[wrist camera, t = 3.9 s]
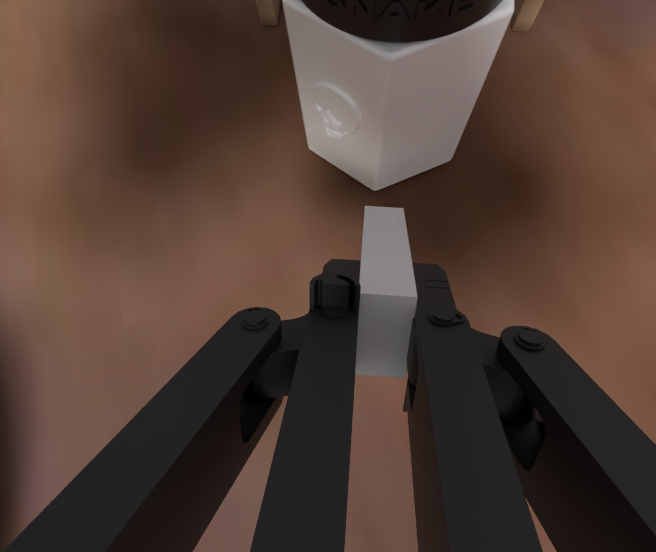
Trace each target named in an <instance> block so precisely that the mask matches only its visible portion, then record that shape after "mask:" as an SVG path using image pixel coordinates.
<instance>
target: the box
mask: <svg viewBox="0 0 656 552" xmlns="http://www.w3.org/2000/svg"><path fill="white" fill-rule="evenodd" d="M255 2H256V6H257V10H258V14H259V18H260V22H261V25H264V26H277V24H278V17H279V10H280V4H281V0H255ZM543 2H544V0H515V8H514V13H513V15H512V18H511V31H526V32H529V30H530V28H531V26H532V24H533V22H534V20H535V18H536V16H537V14H538V12H539V10H540V8H541V6H542V4H543Z"/></svg>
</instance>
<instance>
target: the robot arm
mask: <svg viewBox="0 0 656 552" xmlns="http://www.w3.org/2000/svg"><path fill="white" fill-rule="evenodd" d="M407 370H408V381H407V387H406V394H405V400H404V407H403V411H404V412H408V425H409V437H410V450H411V463H412V476H413V488H414V501H415V514H416V527H417V539H418V552H543V551H542V548H541V545H540V542H539V539H538V535H537V532H536V529H535V526H534V523H533V520H532V517H531V514H530V511H529V507H528V504H527V501H528V502H529V504H530V506H531V507H532V509H533V511H534V513H535V514H536V516H537V518H538V520H539V521H540V523H541V525H542V527H543V528H544V530H545V532H546V534H547V535H548V537H549V539H550V541H551V542H552V544H553V546H554V548H555V549H556V551H557V552H656V445H655V444H654V443H653V442H652V441H651V440H650V439H649V438H648V436H647V435H646V434H645V433H644V432H643V431H642V430H641V429H640V428H639V427H638V426H637V425H636V424H635V423H634V422H633V421H632V420H631V419H630V418H629V417H628V416H627V415H626V414H625V413H624V412H623V411H622V410H621V409H620V408H619V406H618V405H617V404H616V403H615V402H614V401H613V400H612V399H611V398H610V397H609V396H608V395H607V394H606V393H605V392H604V391H603V390H602V389H601V388H600V387H599V386H598V385H597V384H596V383H595V382H594V381H593V380H592V379H591V378H590V377H589V375H588V374H587V373H586V372H585V371H584V370H583V369H582V368H581V367H580V366H579V365H578V364H577V363H576V362H575V361H574V360H573V359H572V358H571V357H570V356H569V355H568V354H567V353H566V352H565V351H564V350H563V349H562V348H561V347H560V345H559V344H558V343H557V342H556V341H555V340H554V339H552V338H551V337H550V336H548V335H547V334H545V333H543V332H541V331H539V330H537V329H534V328H530V327H526V326H512V327H507V328H506V329H504V330H503V331H502V332H501V336H500V338H499V337H496V336H492V335H488V334H485V333H482V332H479V331H476V330H474V329H472V328H471V327H470V324H469V321H468V320H467V318H466V316H465V315H463V314H462V313H461V312H459V311H458V310H457V309H456V306H455V303H454V299H453V296H452V292H451V290H450V286H449V283H448V279H447V276H446V272H444V271H443V270H442V269H441V268H440V267H439V266H438V265H435V264H420V263H412V259H411V253H410V246H409V240H408V234H407V227H406V221H405V215H404V208H393V207H376V206H365V212H364V225H363V239H362V253H361V261H358V260H344V259H331V260H330V261H329V262H327V263H326V264H325V265H324V268H323V272H322V274H319V275H318V276H316V277H314V278H313V279H312V280H311V282H310V310H309V313H308V314H306V315H305V316H302V317H299V318H296V319H291V320H283V321H281V319H280V316H279V315H278V314H277V313H276V312H275V311H273V310H270V309H268V308H261V307H254V308H247V309H244V310H241V311H239V312H237V313H236V314H235V315H233V316H232V317H231V318H230V319H229V320H228V321H227V322H226V323H225V324H224V325H223V326H222V327H221V328H220V329H219V330H218V331H217V332H216V333H215V334H214V335H213V336H212V337H211V339H210V340H209V341H208V342H207V343H206V344H205V345H204V346H203V347H202V348H201V349H200V350H199V351H198V352H197V353H196V354H195V355H194V356H193V357H192V358H191V359H190V360H189V361H188V362H187V363H186V364H185V365H184V366H183V367H182V368H181V369H180V370H179V371H178V372H177V373H176V374H175V375H174V377H173V378H172V379H171V380H170V381H169V382H168V383H167V384H166V385H165V386H164V387H163V388H162V389H161V390H160V391H159V392H158V393H157V394H156V395H155V396H154V397H153V398H152V399H151V400H150V401H149V402H148V403H147V404H146V405H145V406H144V407H143V408H142V409H141V410H140V411H139V412H138V413H137V414H136V416H135V417H134V418H133V419H132V420H131V421H130V422H129V423H128V424H127V425H126V426H125V427H124V428H123V429H122V430H121V431H120V432H119V433H118V434H117V435H116V436H115V437H114V438H113V439H112V440H111V441H110V442H109V443H108V444H107V445H106V446H105V447H104V448H103V449H102V450H101V451H100V452H99V453H98V455H97V456H96V457H95V458H94V459H93V460H92V461H91V462H90V463H89V464H88V465H87V466H86V467H85V468H84V469H83V470H82V471H81V472H80V473H79V474H78V475H77V476H76V477H75V478H74V479H73V480H72V481H71V482H70V483H69V484H68V485H67V486H66V487H65V488H64V489H63V490H62V491H61V493H60V494H59V495H58V496H57V497H56V498H55V499H54V500H53V501H52V502H51V503H50V504H49V505H48V506H47V507H46V508H45V509H44V510H43V511H42V512H41V513H40V514H39V515H38V516H37V517H36V518H35V519H34V520H33V521H32V522H31V523H30V524H29V525H28V526H27V527H26V528H25V529H24V530H23V532H22V533H21V534H20V535H19V536H18V537H17V538H16V539H15V540H14V541H13V542H12V543H11V544H10V545H9V546H8V547H7V548H6V549H5V550H4V551H3V552H192V551H193V550H194V548H195V546H196V545H197V543H198V542H199V540H200V538H201V537H202V535H203V533H204V532H205V530H206V528H207V527H208V525H209V523H210V522H211V520H212V518H213V517H214V515H215V513H216V512H217V510H218V508H219V507H220V505H221V503H222V502H223V500H224V498H225V497H226V495H227V493H228V492H229V490H230V488H231V487H232V485H233V483H234V482H235V480H236V478H237V477H238V475H239V473H240V472H241V470H242V468H243V467H244V465H245V463H246V462H247V460H248V458H249V457H250V455H251V453H252V452H253V450H254V448H255V447H256V445H257V443H258V442H259V440H260V438H261V437H262V435H263V433H264V432H265V430H266V428H267V427H268V425H269V423H270V422H271V420H272V418H273V417H274V415H275V413H276V412H277V410H278V408H279V407H280V405H281V403H282V400H283V397H284V396H287V395H288V399H287V403H286V407H285V411H284V416H283V420H282V424H281V428H280V432H279V436H278V440H277V444H276V448H275V452H274V456H273V460H272V464H271V468H270V472H269V476H268V481H267V485H266V489H265V493H264V497H263V501H262V505H261V509H260V513H259V517H258V521H257V525H256V529H255V533H254V537H253V541H252V546H251V550H250V552H344V545H345V529H346V513H347V497H348V481H349V465H350V448H351V432H352V416H353V400H354V384H355V374H362V375H374V376H385V377H397V378H406V371H407ZM537 411H538V412H537ZM525 497H526V498H525ZM526 499H527V501H526Z"/></svg>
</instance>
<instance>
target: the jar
mask: <svg viewBox="0 0 656 552" xmlns="http://www.w3.org/2000/svg"><path fill="white" fill-rule="evenodd" d="M282 3H283V9H284V15H285V20H286V26H287V32H288V37H289V43H290V49H291V54H292V60H293V66H294V71H295V77H296V82H297V88H298V94H299V99H300V105H301V111H302V116H303V122H304V128H305V133H306V139H307V145H308V148H309V149H310V150H311V151H313V152H314V153H316V154H317V155H319V156H320V157H322V158H323V159H325V160H326V161H328V162H330V163H331V164H333V165H334V166H336V167H337V168H339V169H340V170H342V171H343V172H345V173H347V174H348V175H350V176H351V177H353V178H354V179H356V180H357V181H359V182H360V183H362V184H363V185H365V186H367V187H368V188H370V189H371V190H373V191H378V190H380V189H383V188H385V187H388V186H390V185H392V184H395V183H397V182H400V181H402V180H405V179H407V178H410V177H412V176H415V175H417V174H419V173H422V172H424V171H427V170H429V169H432V168H434V167H437V166H439V165H442V164H444V163H446V162H449V161H450V160H451V159H452V158H453V155H454V153H455V151H456V148H457V146H458V143H459V141H460V139H461V136H462V134H463V132H464V129H465V127H466V124H467V122H468V120H469V117H470V115H471V113H472V110H473V108H474V105H475V103H476V101H477V98H478V96H479V94H480V91H481V89H482V86H483V84H484V82H485V79H486V77H487V75H488V72H489V70H490V67H491V65H492V63H493V60H494V58H495V56H496V53H497V51H498V49H499V46H500V44H501V41H502V39H503V37H504V34H505V32H506V30H507V27H508V25H509V22H510V20H511V18H512V15H513V13H514V8H515V0H282Z"/></svg>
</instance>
